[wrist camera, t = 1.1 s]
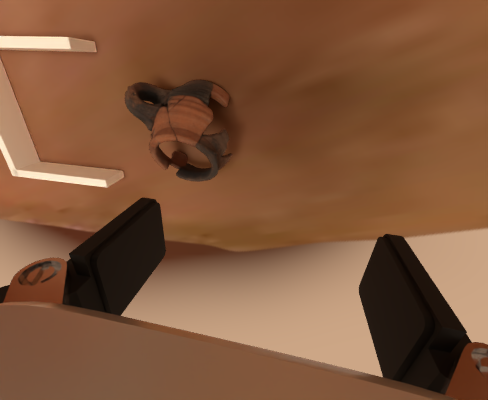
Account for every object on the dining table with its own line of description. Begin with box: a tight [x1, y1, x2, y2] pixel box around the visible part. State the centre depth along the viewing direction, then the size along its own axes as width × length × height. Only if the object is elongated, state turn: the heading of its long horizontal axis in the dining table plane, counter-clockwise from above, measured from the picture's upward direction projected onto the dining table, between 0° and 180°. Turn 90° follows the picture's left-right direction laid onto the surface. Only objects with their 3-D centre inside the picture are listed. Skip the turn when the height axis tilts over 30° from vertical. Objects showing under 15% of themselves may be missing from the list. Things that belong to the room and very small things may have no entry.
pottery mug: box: [125, 80, 232, 181], centre depth 26 cm, size 12×10×8 cm
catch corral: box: [0, 36, 124, 187], centre depth 29 cm, size 16×14×4 cm
